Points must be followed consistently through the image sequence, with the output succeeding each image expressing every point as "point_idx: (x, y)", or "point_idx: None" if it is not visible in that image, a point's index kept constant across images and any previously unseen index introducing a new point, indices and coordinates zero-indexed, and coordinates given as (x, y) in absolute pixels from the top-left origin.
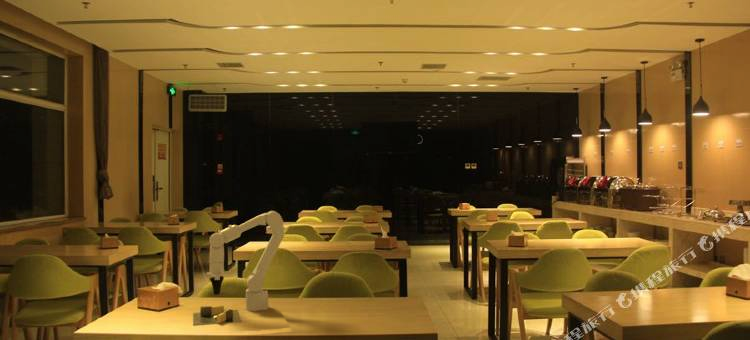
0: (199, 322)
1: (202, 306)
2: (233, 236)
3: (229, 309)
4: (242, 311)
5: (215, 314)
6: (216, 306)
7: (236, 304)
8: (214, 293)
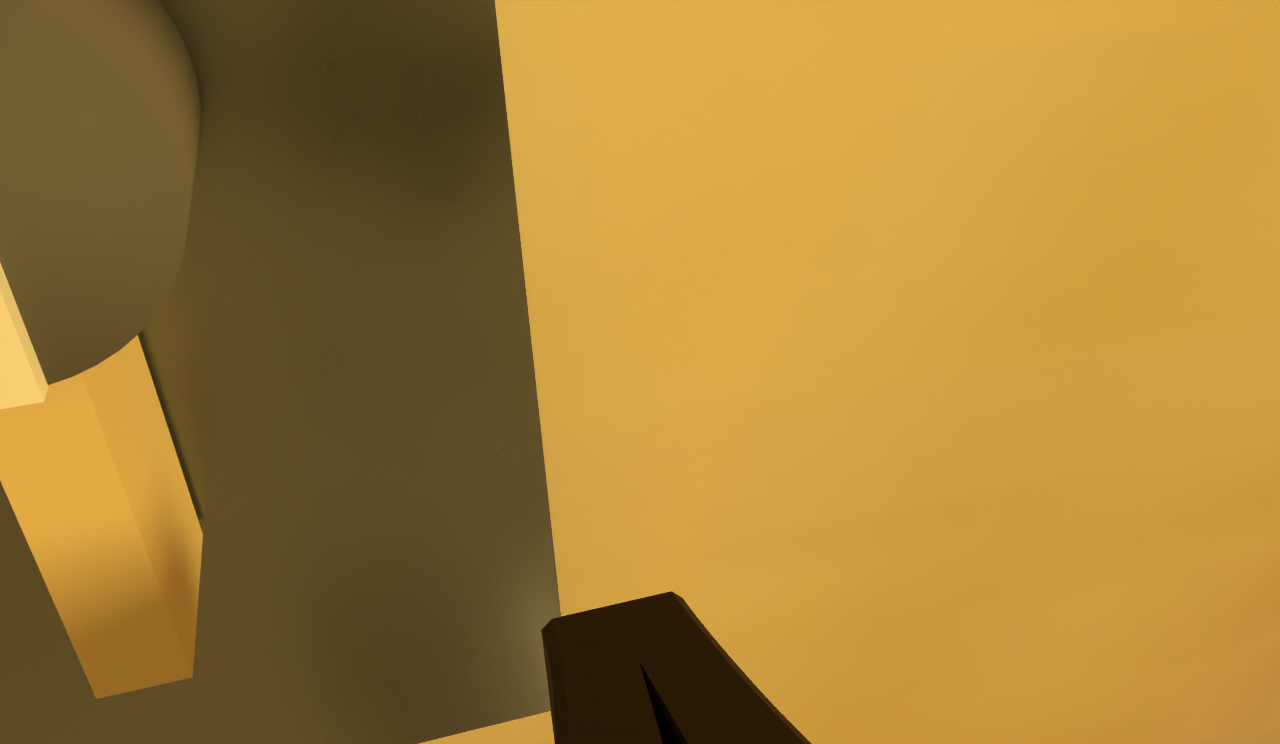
0: None
1: (29, 45)
2: None
3: None
4: None
5: None
6: (101, 517)
7: (1259, 505)
8: (552, 668)
